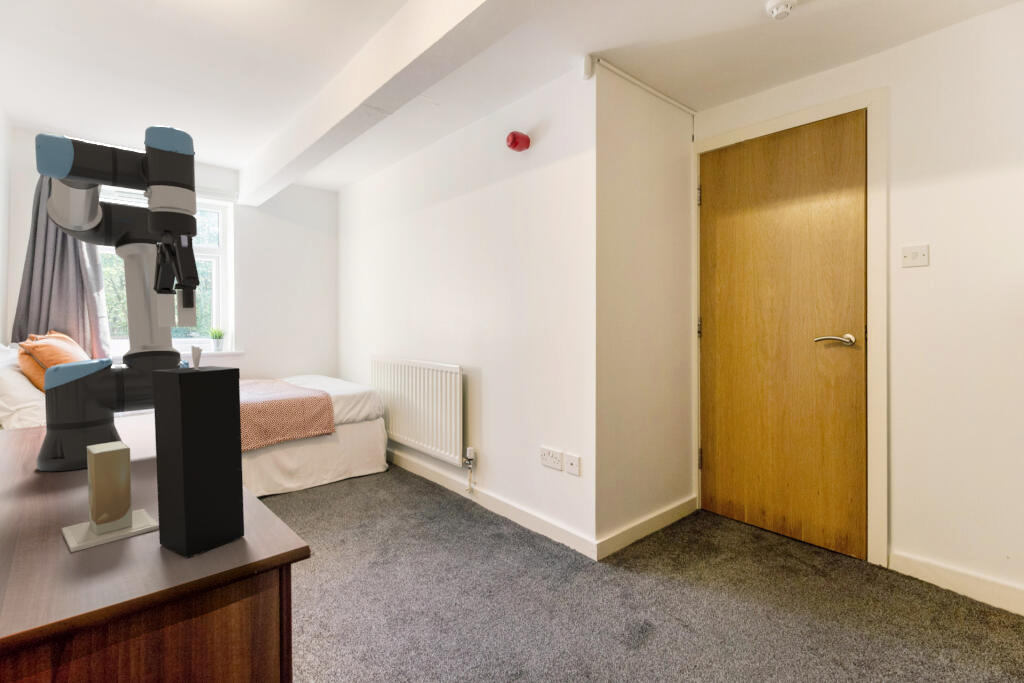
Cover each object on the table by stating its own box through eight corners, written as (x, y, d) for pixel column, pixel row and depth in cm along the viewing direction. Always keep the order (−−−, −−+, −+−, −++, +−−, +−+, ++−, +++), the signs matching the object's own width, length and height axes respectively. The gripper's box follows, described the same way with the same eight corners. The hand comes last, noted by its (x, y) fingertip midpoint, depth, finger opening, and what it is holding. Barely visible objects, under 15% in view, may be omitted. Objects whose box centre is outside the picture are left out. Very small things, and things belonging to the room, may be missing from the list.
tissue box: (185, 559, 64) (178, 347, 63) (158, 545, 68) (150, 346, 67) (245, 537, 71) (239, 345, 70) (216, 525, 75) (210, 344, 74)
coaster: (61, 532, 73) (61, 527, 73) (143, 512, 81) (143, 508, 80) (71, 552, 66) (70, 547, 66) (159, 528, 74) (159, 524, 74)
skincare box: (88, 524, 74) (85, 445, 73) (124, 516, 77) (121, 440, 77) (96, 536, 70) (92, 452, 69) (133, 527, 73) (130, 446, 72)
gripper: (132, 220, 97) (137, 327, 98) (166, 198, 80) (171, 326, 81) (177, 226, 102) (180, 326, 103) (217, 206, 86) (221, 326, 86)
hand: (176, 327), depth 92 cm, fingers open, 13 cm apart
